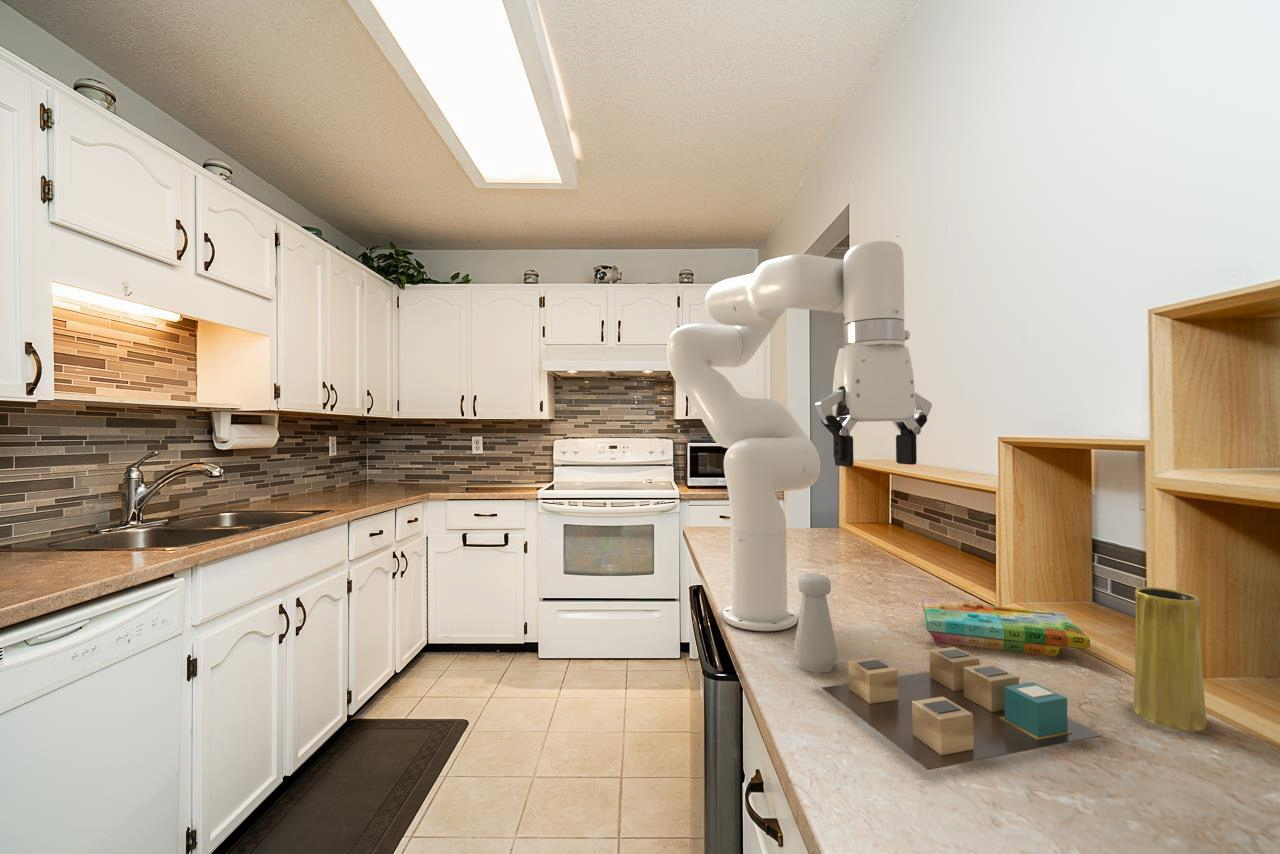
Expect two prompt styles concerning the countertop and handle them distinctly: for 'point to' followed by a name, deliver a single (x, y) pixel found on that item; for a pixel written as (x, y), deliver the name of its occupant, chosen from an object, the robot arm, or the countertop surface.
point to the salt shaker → (815, 626)
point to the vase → (1168, 659)
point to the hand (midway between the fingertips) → (875, 465)
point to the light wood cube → (873, 680)
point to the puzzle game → (1001, 627)
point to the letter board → (988, 726)
